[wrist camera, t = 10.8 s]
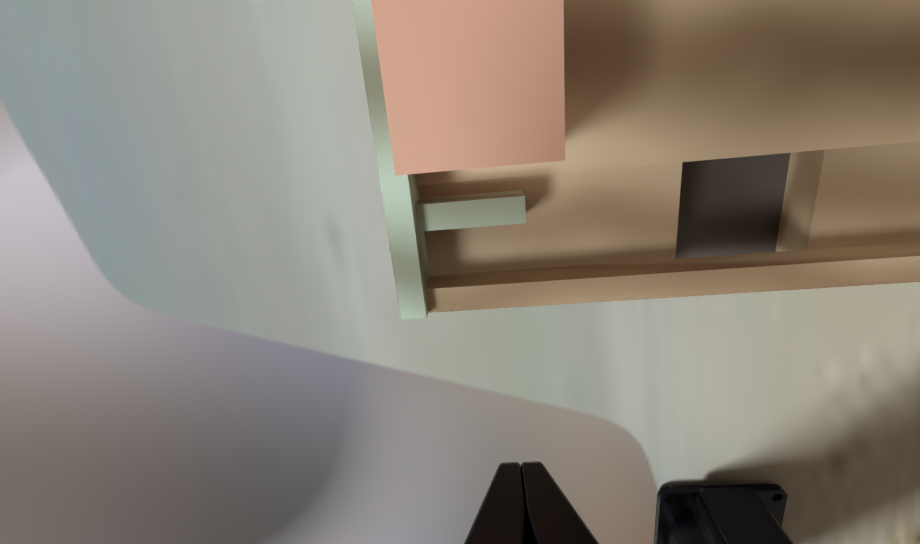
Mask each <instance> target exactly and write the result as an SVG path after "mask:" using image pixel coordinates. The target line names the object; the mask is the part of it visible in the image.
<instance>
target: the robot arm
mask: <svg viewBox="0 0 920 544" xmlns="http://www.w3.org/2000/svg"><path fill="white" fill-rule="evenodd" d="M667 497H668V498H667ZM786 501H787V494H786V493H785V491H784V490H783V489H782V488H781V486H779V485H776V484H762V485H726V486H690V487H665V488H662V489H660V490H659V491H658V494H657V506H656V518H655V519H656V520H655V532H654V544H794V543H793V542H792V541H791V539H790V538H789V537H788V535H787V534H786V532H785V531H784V530H783V528H782V527H781V525H782V520H783V515H784V510H785V506H786ZM464 544H599V543H598V542H597V540H596V539H595V537H594V536H593V535H592V533H591V532H590V530H589V529H588V527H587V526H586V525H585V523H584V522H583V520H582V519H581V517H580V516H579V515H578V513H577V512H576V510H575V509H574V507H573V506H572V505H571V503H570V502H569V500H568V499H567V498H566V496H565V495H564V493H563V492H562V490H560V488H559V486H558V485H557V483H556V482H555V481H554V479H553V478H552V476H551V475H550V474H549V472H548V471H547V469H546V468H545V466H544V465H543V464H542V463H541V462H538V461H537V462H523V463H522V464H521V466H520V464H519V463H518V462H510V463H509V462H508V463H501V464H500V465H499V466H498V469H497V471H496V473H495V475H494V478H493V480H492V482H491V484H490V487H489V489H488V491H487V493H486V496H485V498H484V500H483V502H482V505H481V507H480V509H479V511H478V514H477V516H476V518H475V520H474V522H473V525H472V527H471V529H470V531H469V534H468V536H467V538H466V540H465V543H464Z"/></svg>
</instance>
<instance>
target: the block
mask: <svg viewBox="0 0 920 544" xmlns="http://www.w3.org/2000/svg"><path fill="white" fill-rule="evenodd" d="M371 5H372V12H373V19H374V26H375V33H376V41H377V48H378V55H379V62H380V69H381V76H382V84H383V91H384V98H385V105H386V112H387V119H388V127H389V134H390V141H391V148H392V155H393V162H394V170H395V176H396V175H407V174H419V173H430V172H441V171H452V170H464V169H475V168H486V167H497V166H509V165H520V164H531V163H542V162H554V161H565V86H564V0H371Z"/></svg>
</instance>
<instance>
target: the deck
mask: <svg viewBox="0 0 920 544" xmlns="http://www.w3.org/2000/svg"><path fill="white" fill-rule="evenodd" d="M352 3H353V10H354V16H355V23H356V29H357V36H358V42H359V49H360V55H361V62H362V68H363V75H364V81H365V88H366V94H367V101H368V108H369V114H370V121H371V127H372V134H373V140H374V147H375V153H376V160H377V166H378V173H379V179H380V186H381V193H382V199H383V206H384V212H385V219H386V225H387V232H388V238H389V245H390V251H391V258H392V264H393V271H394V277H395V284H396V291H397V297H398V304H399V310H400V317H401V320H404V319H420V318H427V315H428V313H430V312H446V311H462V310H478V309H494V308H510V307H526V306H542V305H558V304H573V303H589V302H605V301H621V300H637V299H653V298H669V297H685V296H700V295H716V294H732V293H748V292H764V291H780V290H796V289H812V288H827V287H843V286H859V285H875V284H891V283H907V282H920V0H564V86H565V161H554V162H542V163H531V164H520V165H509V166H497V167H486V168H475V169H464V170H452V171H441V172H430V173H419V174H407V175H396V176H395V170H394V162H393V155H392V148H391V141H390V134H389V127H388V119H387V112H386V105H385V98H384V91H383V84H382V76H381V69H380V62H379V55H378V48H377V41H376V33H375V26H374V19H373V12H372V5H371V0H352Z"/></svg>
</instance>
